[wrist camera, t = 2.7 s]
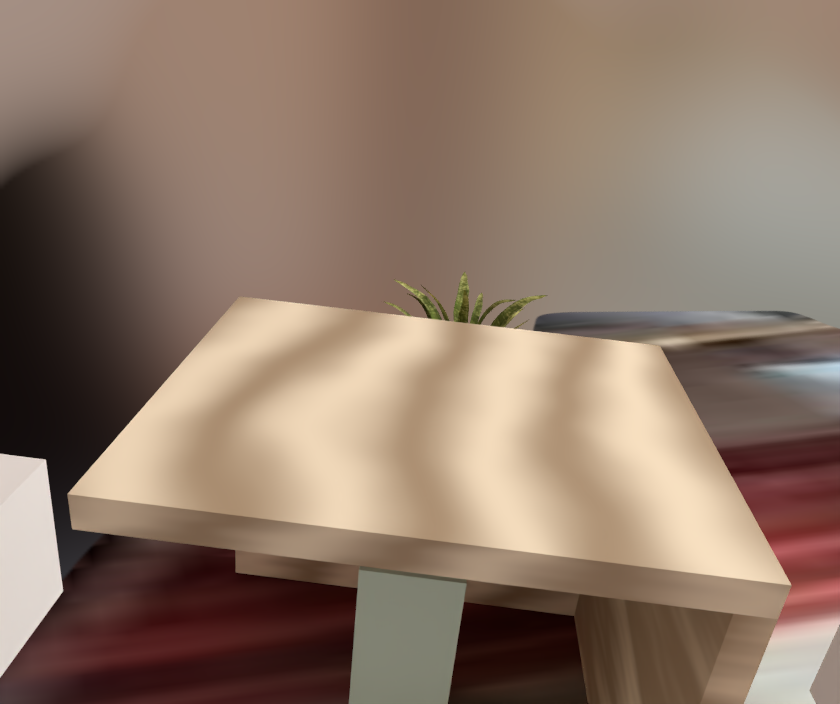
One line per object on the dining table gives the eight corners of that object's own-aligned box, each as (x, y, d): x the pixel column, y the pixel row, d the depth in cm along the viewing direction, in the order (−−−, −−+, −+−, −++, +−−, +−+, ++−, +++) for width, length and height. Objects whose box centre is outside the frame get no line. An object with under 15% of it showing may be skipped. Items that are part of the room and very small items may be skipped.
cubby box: (593, 602, 50) (659, 345, 42) (655, 922, 32) (791, 585, 24) (242, 557, 51) (239, 296, 42) (114, 846, 33) (67, 494, 25)
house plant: (472, 399, 75) (494, 247, 68) (560, 471, 64) (596, 299, 57) (347, 426, 68) (357, 259, 61) (422, 511, 57) (444, 320, 50)
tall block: (443, 679, 43) (468, 516, 38) (439, 757, 38) (466, 583, 33) (359, 668, 43) (373, 504, 38) (345, 744, 39) (359, 569, 34)
